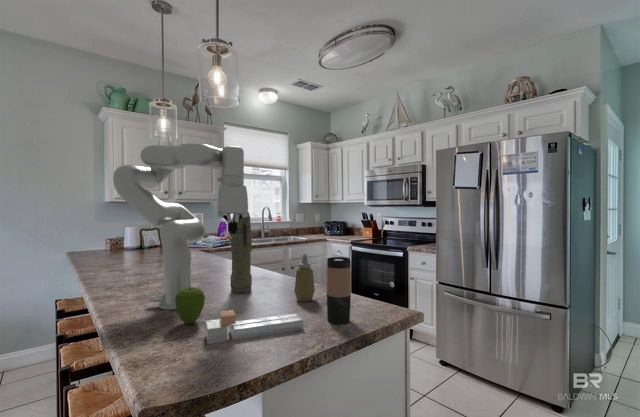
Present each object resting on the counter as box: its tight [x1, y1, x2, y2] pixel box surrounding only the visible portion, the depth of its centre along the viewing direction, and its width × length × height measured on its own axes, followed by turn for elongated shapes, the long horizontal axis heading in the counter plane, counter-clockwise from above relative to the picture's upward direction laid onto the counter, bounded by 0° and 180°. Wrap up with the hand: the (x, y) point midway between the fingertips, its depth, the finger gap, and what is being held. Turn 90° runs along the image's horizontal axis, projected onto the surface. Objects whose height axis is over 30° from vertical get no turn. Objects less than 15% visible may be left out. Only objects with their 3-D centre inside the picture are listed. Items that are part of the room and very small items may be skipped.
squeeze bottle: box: [294, 253, 316, 302], centre depth 126 cm, size 8×8×18 cm
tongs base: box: [205, 316, 304, 345], centre depth 93 cm, size 27×7×4 cm, turn 113°
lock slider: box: [219, 309, 237, 326], centre depth 90 cm, size 4×5×2 cm
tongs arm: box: [229, 313, 300, 335], centre depth 96 cm, size 20×3×3 cm, turn 113°
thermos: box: [230, 211, 253, 295], centre depth 138 cm, size 9×12×35 cm
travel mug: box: [326, 256, 352, 326], centre depth 102 cm, size 8×8×20 cm
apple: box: [175, 287, 206, 325], centre depth 100 cm, size 9×8×12 cm
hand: (232, 233), depth 113 cm, fingers closed
